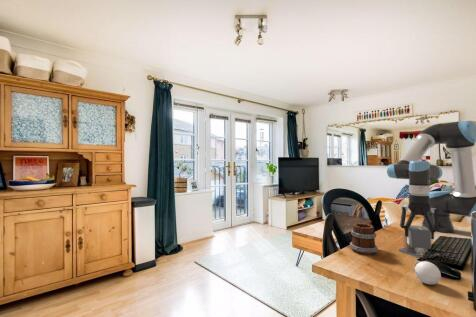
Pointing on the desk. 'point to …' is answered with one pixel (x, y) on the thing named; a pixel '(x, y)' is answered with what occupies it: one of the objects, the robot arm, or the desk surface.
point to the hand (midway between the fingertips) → (418, 244)
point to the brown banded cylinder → (363, 238)
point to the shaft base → (415, 251)
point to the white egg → (427, 273)
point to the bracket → (406, 241)
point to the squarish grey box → (420, 237)
